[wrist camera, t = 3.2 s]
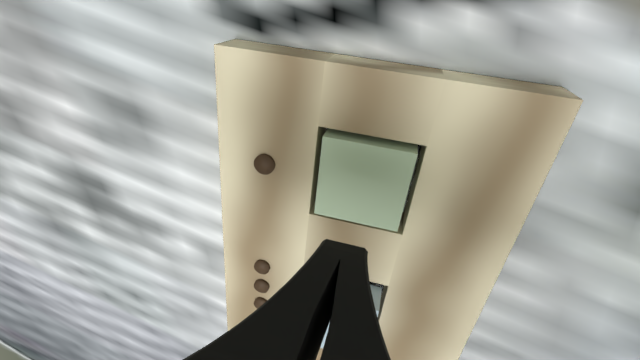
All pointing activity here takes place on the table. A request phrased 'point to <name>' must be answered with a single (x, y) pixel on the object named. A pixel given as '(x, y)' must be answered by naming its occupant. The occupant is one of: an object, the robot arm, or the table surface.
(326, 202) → the one dot button
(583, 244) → the table surface
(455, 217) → the button panel
